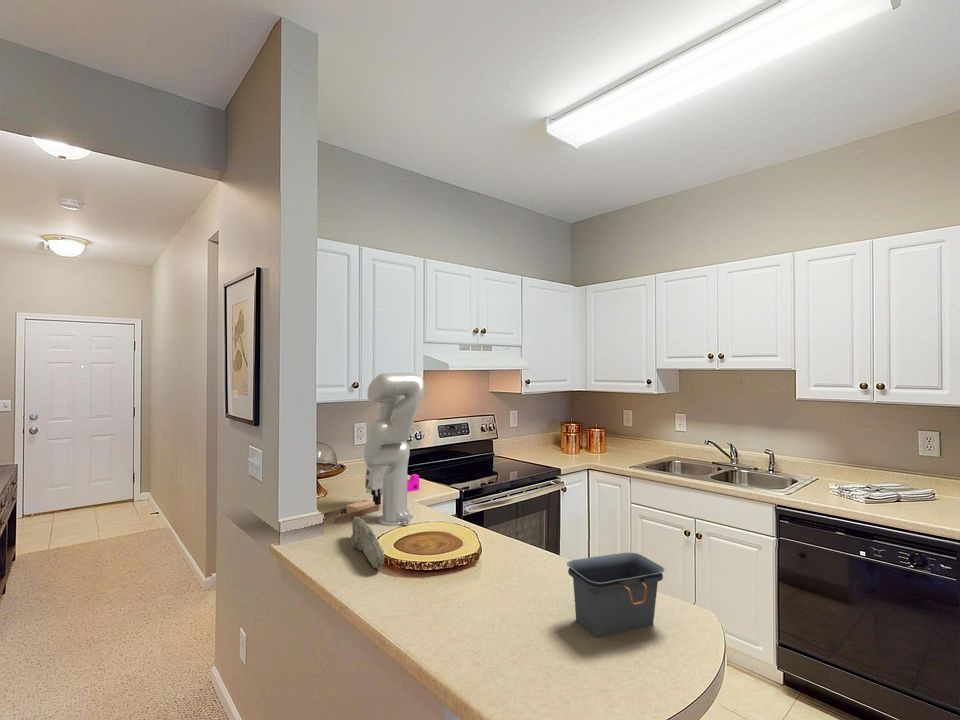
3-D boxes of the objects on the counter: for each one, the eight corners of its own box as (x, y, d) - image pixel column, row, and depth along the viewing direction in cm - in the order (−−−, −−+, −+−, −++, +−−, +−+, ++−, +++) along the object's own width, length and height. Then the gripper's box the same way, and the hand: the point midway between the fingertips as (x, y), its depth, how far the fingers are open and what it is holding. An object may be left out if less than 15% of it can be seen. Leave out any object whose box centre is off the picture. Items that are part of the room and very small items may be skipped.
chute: (379, 511, 208) (379, 505, 208) (336, 524, 191) (336, 518, 191) (364, 507, 214) (364, 501, 214) (321, 519, 197) (321, 513, 197)
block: (374, 511, 209) (374, 502, 209) (356, 517, 200) (356, 507, 200) (364, 509, 212) (364, 499, 212) (346, 515, 204) (346, 505, 204)
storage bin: (633, 604, 128) (633, 549, 128) (677, 635, 114) (677, 572, 114) (561, 620, 120) (561, 561, 120) (599, 655, 106) (599, 588, 106)
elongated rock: (390, 575, 146) (390, 541, 146) (372, 579, 143) (372, 544, 143) (359, 538, 177) (359, 510, 177) (344, 540, 174) (344, 512, 174)
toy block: (413, 488, 246) (413, 473, 246) (419, 491, 241) (419, 475, 241) (385, 492, 239) (385, 476, 239) (390, 495, 233) (390, 479, 233)
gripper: (368, 465, 205) (368, 510, 205) (395, 459, 217) (395, 502, 217) (357, 463, 209) (357, 506, 209) (384, 458, 221) (384, 499, 221)
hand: (376, 504), depth 213 cm, fingers closed
